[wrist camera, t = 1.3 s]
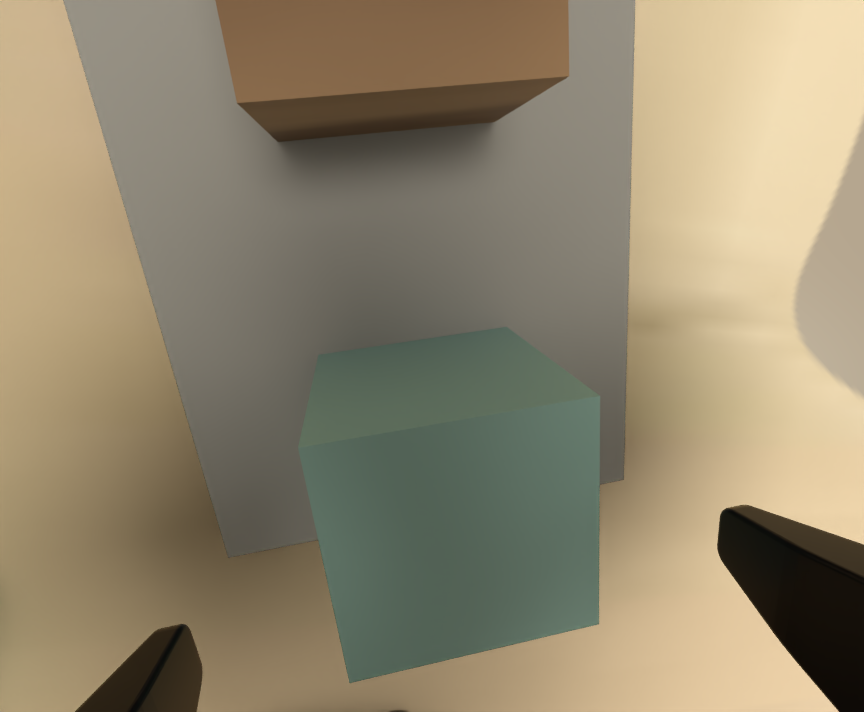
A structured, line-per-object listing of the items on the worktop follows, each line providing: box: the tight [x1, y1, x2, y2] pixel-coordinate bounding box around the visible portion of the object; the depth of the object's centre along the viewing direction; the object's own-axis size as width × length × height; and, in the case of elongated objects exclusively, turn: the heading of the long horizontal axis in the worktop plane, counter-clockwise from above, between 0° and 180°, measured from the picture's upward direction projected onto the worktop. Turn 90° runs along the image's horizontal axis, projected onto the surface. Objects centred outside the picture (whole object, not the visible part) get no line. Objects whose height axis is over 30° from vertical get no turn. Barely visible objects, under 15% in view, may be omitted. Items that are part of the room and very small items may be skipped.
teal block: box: [298, 327, 600, 683], centre depth 11 cm, size 5×5×5 cm
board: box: [63, 0, 635, 558], centre depth 12 cm, size 16×12×1 cm
